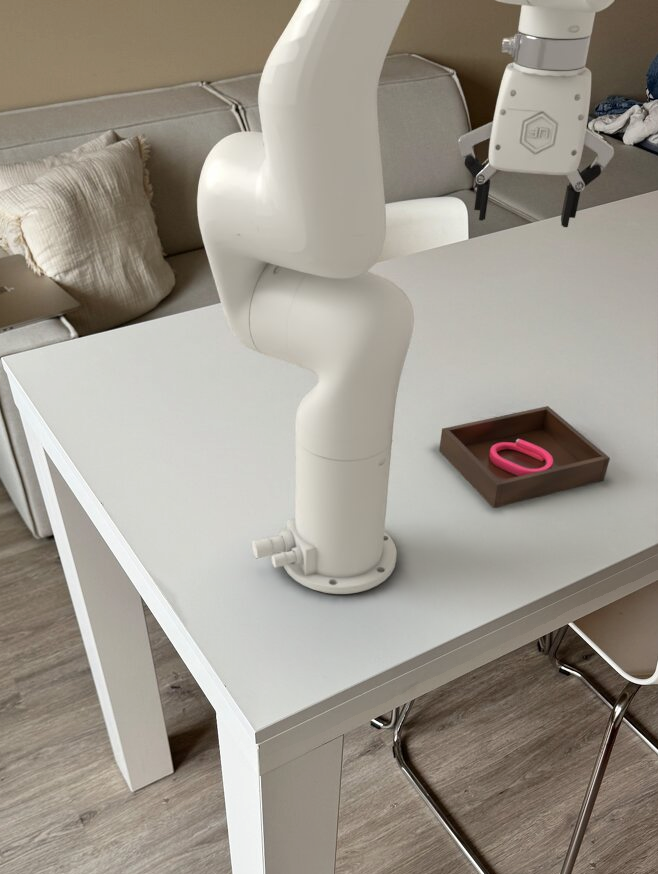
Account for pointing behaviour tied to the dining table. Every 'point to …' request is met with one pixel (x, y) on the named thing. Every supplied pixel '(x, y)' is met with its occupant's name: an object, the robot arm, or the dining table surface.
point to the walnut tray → (523, 455)
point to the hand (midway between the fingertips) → (522, 220)
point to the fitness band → (524, 448)
